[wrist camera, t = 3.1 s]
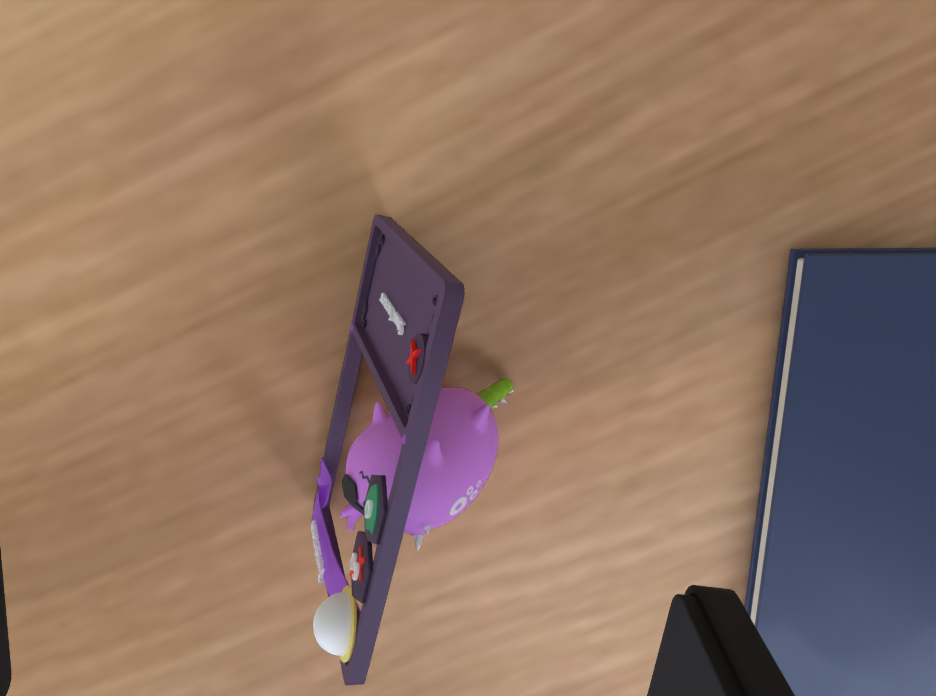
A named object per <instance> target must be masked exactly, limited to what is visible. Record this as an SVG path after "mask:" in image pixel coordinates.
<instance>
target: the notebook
mask: <svg viewBox="0 0 936 696" xmlns="http://www.w3.org/2000/svg"><path fill="white" fill-rule="evenodd" d="M745 609H746V611H747V613H748V615H749V616H750V618H751V620H752V622H753V623H754V625H755V627H756V629H757V630H758V632H759V634H760V636H761V637H762V639H763V641H764V643H765V644H766V646H767V648H768V649H769V651H770V653H771V655H772V656H773V658H774V660H775V662H776V663H777V665H778V667H779V669H780V670H781V672H782V674H783V676H784V677H785V679H786V681H787V683H788V684H789V686H790V688H791V690H792V691H793V693H794V695H795V696H936V248H843V249H791V252H790V260H789V267H788V275H787V283H786V291H785V299H784V306H783V314H782V322H781V330H780V338H779V345H778V353H777V361H776V369H775V377H774V385H773V392H772V400H771V408H770V416H769V424H768V431H767V439H766V447H765V455H764V463H763V470H762V478H761V486H760V494H759V502H758V510H757V517H756V525H755V533H754V541H753V549H752V556H751V564H750V572H749V580H748V588H747V595H746V603H745Z"/></svg>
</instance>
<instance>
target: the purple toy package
mask: <svg viewBox="0 0 936 696" xmlns="http://www.w3.org/2000/svg"><path fill="white" fill-rule="evenodd" d="M464 292H465V291H464V285H463V283H462V282H460V281H459V280H458V279H457V278H456V277H455V276H454V275H453V274H452V273H451V272H450V271H448V270H447V269H446V268H445V267H444V266H443V265H442V264H441V263H440V262H439V261H438V260H436V259H435V258H434V257H433V256H432V255H431V254H430V253H429V252H428V251H427V250H426V249H425V248H423V247H422V246H421V245H420V244H419V243H418V242H417V241H416V240H415V239H414V238H413V237H411V236H410V235H409V234H408V233H407V232H406V231H405V230H404V229H403V228H402V227H401V226H399V225H398V224H397V223H396V222H395V221H394V220H393V219H392V218H391V217H387V216H382V215H377V214H376V215H375V217H374V220H373V225H372V229H371V234H370V239H369V244H368V248H367V253H366V258H365V263H364V267H363V272H362V277H361V282H360V286H359V291H358V296H357V301H356V306H355V310H354V315H353V320H352V325H351V329H350V334H349V339H348V344H347V348H346V353H345V358H344V363H343V367H342V372H341V377H340V382H339V386H338V391H337V396H336V401H335V405H334V410H333V415H332V420H331V425H330V429H329V434H328V439H327V444H326V448H325V453H324V458H323V459H322V458H321V467H320V477H318V478H317V479H316V481H317V483H318V486H317V491H316V496H315V501H314V507H313V515H312V525H311V532H312V533H313V534H312V540H313V543H314V547H315V548H314V549H315V553H314V555H315V556H316V560H317V567H318V571H320V575H318V579H319V584H323V580H322V579H323V578H324V582H325V585H326V588H327V592H328V598H327V599H325V600H324V601H323V602H322V603H321V604H320V606H319V607H318V609H317V611H316V613H315V616H314V620H313V631H314V635H315V638H316V640H317V642H318V644H319V645H320V646H321V647H322V648H323V649H324V650H325V651H327V652H329V653H331V654H334V655H339V657H340V662H341V668H342V673H343V679H344V683H345V685H358V684H364V683H365V680H366V676H367V672H368V669H369V665H370V661H371V657H372V653H373V649H374V645H375V641H376V638H377V634H378V630H379V626H380V622H381V618H382V614H383V610H384V606H385V603H386V599H387V595H388V591H389V587H390V583H391V579H392V575H393V572H394V568H395V564H396V560H397V556H398V552H399V548H400V544H401V541H402V537H403V533H409V534H410V535H412V536H413V537H414V539H415V545H416V549H417V551H418V550H419V548H420V546H421V542H422V538H423V536H424V533H425V532H426V533H427V535H429V530H431V529H434V528H437V527H440V526H442V525H444V524H446V523H448V522H449V521H451V520H453V519H454V518H456V517H457V516H458V515H459V514H461V513H462V512H463V511H464V510H465V509H466V508H467V507H468V506H469V505H470V504H471V503H472V502H473V500H474V499H475V498H476V497H477V495H478V494H479V492H480V491H481V489H482V488H483V486H484V484H485V483H486V481H487V479H488V477H489V475H490V473H491V470H492V468H493V465H494V462H495V459H496V455H497V449H498V429H497V424H496V421H495V418H494V415H493V413H492V411H491V410H490V408H492V409H493V408H494V407H497V406H496V403H497V402H498V401H500V403H501V405H502V404H503V403H507V402H506V401H505V399H504V397H505V395H506V394H507V393H508V395H510V393H511V392H513V393H514V391H513V390H512V389H513V383H512V381H511V380H509V379H507V378H505V379H502V380H500V381H499V382H497V383H494V384H493V385H492V386H490V387H489V388H487V389H484V390H482V391H481V392H480V393H478V394H477V395H476V394H475V393H473V392H471V391H469V390H466V389H462V388H441V385H442V382H443V378H444V374H445V370H446V366H447V362H448V358H449V354H450V350H451V347H452V343H453V339H454V335H455V331H456V327H457V323H458V319H459V316H460V312H461V308H462V304H463V300H464ZM362 354H363V356H364V358H365V360H366V362H367V364H368V367H369V369H370V371H371V373H372V375H373V377H374V380H375V382H376V384H377V386H378V388H379V390H380V393H381V395H382V397H383V399H384V401H385V403H386V405H387V408H388V410H389V412H390V414H389V415H386V413H385V411H384V409H383V408H382V406H381V404H380V403H378V402H376V404H375V409H374V415H373V419H372V422H371V424H370V425H369V426H368V427H367V428H366V429H365V430H364V431H363V432H362V433H361V434H360V435H359V436H358V437H357V438H356V440H355V441H354V443H353V444H352V446H351V448H350V451H349V453H348V457H347V462H346V474H345V476H344V478H343V480H342V487H343V493H344V497H345V498H346V499H347V501H348V502H349V504H348V505H347V506H346V507H345V508H344V509H343V510H342V512H341V514H340V518H343V517H347V516H348V520H347V529H348V530H354V524H355V522H356V521H357V520H358V519H359V518H360V517H361V516H362V515H364V520H365V532H361V531H358V533H357V537H356V541H355V546H354V550H353V553H352V556H351V561H350V570H351V571H350V576H351V580H352V587H351V586H350V585H349V584H348V582H347V580H346V578H345V574H344V570H343V565H342V561H341V556H340V552H339V547H338V543H337V538H336V534H335V530H334V525H333V521H332V516H331V512H330V500H331V495H332V490H333V486H334V481H335V477H336V472H337V467H338V463H339V458H340V454H341V449H342V444H343V440H344V435H345V431H346V426H347V421H348V417H349V412H350V408H351V403H352V399H353V394H354V389H355V385H356V380H357V376H358V371H359V366H360V362H361V357H362ZM372 543H373V544H374V545H377V548H376V552H375V556H374V560H373V556H372ZM356 599H357V600H358V601H359V602H361V603H363V605H362V609H361V611H360V609H359V606H358V604H357V602H356Z"/></svg>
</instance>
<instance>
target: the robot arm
mask: <svg viewBox="0 0 936 696" xmlns="http://www.w3.org/2000/svg"><path fill="white" fill-rule="evenodd" d="M10 682H11V662H10V651H9V639H8V628H7V617H6V605H5V594H4V583H3V571H2V560H1V549H0V696H6V694H7V692H8V689H9V687H10ZM647 696H795V695H794V693H793V691H792V690H791V688H790V686H789V684H788V683H787V681H786V679H785V677H784V676H783V674H782V672H781V670H780V669H779V667H778V665H777V663H776V662H775V660H774V658H773V656H772V655H771V653H770V651H769V649H768V648H767V646H766V644H765V643H764V641H763V639H762V637H761V636H760V634H759V632H758V630H757V629H756V627H755V625H754V623H753V622H752V620H751V618H750V616H749V615H748V613H747V611H746V609H745V608H744V606H743V604H742V602H741V601H740V599H739V597H738V596H737V594H736V593H735V592H734V591H733V590H730V589H723V588H714V587H706V586H697V585H692V586H689V587H688V589H687V590H686V592H685V595H681V594H677V595H675V596H674V598H673V600H672V603H671V607H670V610H669V614H668V618H667V622H666V626H665V629H664V633H663V637H662V641H661V645H660V649H659V652H658V656H657V660H656V664H655V668H654V672H653V675H652V679H651V683H650V687H649V691H648V694H647Z"/></svg>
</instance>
